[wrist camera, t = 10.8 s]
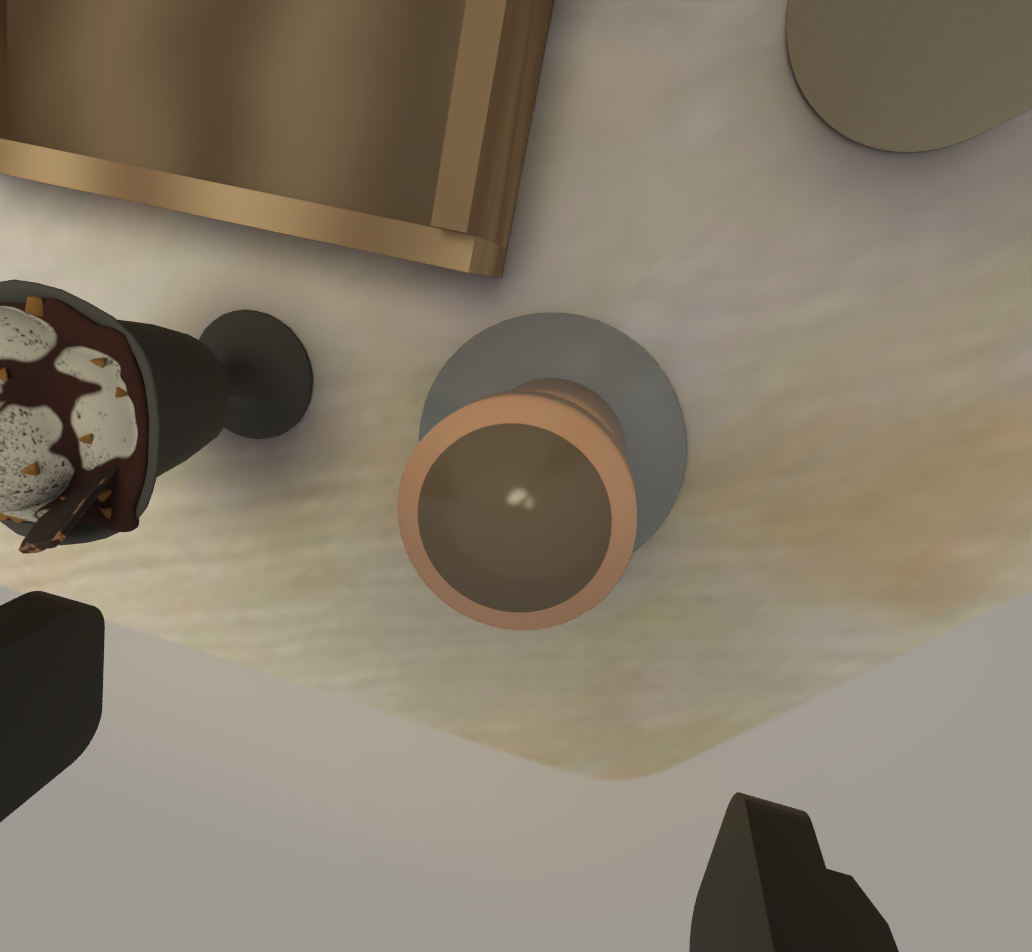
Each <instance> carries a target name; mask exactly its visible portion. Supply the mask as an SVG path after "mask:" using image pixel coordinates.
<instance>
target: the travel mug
mask: <svg viewBox="0 0 1032 952" xmlns="http://www.w3.org/2000/svg"><path fill="white" fill-rule="evenodd" d="M786 33H787V45H788V51H789V57H790V61H791V65H792V68H793V72H794V74H795V77H796V79H797V82H798V84H799V86H800V88H801V90H802V92H803V94H804V96H805V97H806V99H807V100H808V102H809V103H810V105H811V106H812V107H813V109H814V110H815V111H816V112H817V113H818V115H819V116H820V117H821V118H822V119H823V120H824V121H826V122H827V123H828V124H829V125H830V126H831V127H833V128H834V129H835V130H837V131H838V132H839V133H841V134H843V135H844V136H846V137H848V138H850V139H852V140H854V141H856V142H858V143H860V144H863V145H866V146H869V147H872V148H877V149H881V150H886V151H895V152H920V151H929V150H934V149H939V148H944V147H947V146H951V145H954V144H957V143H960V142H962V141H965V140H968V139H970V138H972V137H974V136H976V135H978V134H980V133H982V132H985V131H987V130H989V129H991V128H993V127H995V126H997V125H999V124H1001V123H1003V122H1005V121H1007V120H1010V119H1012V118H1014V117H1016V116H1018V115H1020V114H1022V113H1024V112H1026V111H1028V110H1030V109H1032V0H788V7H787V19H786Z"/></svg>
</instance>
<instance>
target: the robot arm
mask: <svg viewBox="0 0 1032 952" xmlns="http://www.w3.org/2000/svg"><path fill="white" fill-rule="evenodd" d="M104 629H105V625H104V618H103V615H102V613H101V611H100V610H99V609H98V608H96V607H95V606H92V605H88V604H85V603H81V602H78V601H74V600H71V599H67V598H64V597H60V596H57V595H53V594H50V593H46V592H42V591H33V592H29V593H26V594H24V595H21V596H19V597H18V598H15V599H13V600H11V601H9V602H7V603H5V604H3V605H1V606H0V822H1V821H2V820H4V819H5V818H6V817H7V816H9V814H11V813H12V812H13V811H14V810H16V809H17V808H18V807H19V806H21V805H22V804H23V803H24V802H26V801H27V800H28V799H29V798H30V797H32V796H33V795H34V794H35V793H36V792H38V791H39V790H40V789H41V788H43V787H44V786H45V785H46V784H48V783H49V782H50V781H51V780H52V779H54V778H55V777H56V776H57V775H58V774H60V773H61V772H62V771H63V770H64V769H66V768H67V767H68V766H69V765H71V764H72V763H73V762H74V761H75V760H76V759H77V758H78V757H79V756H80V755H81V754H82V753H83V751H84V750H85V749H86V748H87V746H88V745H89V743H90V741H91V740H92V738H93V736H94V734H95V732H96V730H97V728H98V725H99V721H100V718H101V714H102V697H103V664H104V663H103V662H104ZM690 952H899V951H898V949H897V946H896V943H895V941H894V938H893V936H892V933H891V931H890V928H889V925H888V923H887V922H886V921H885V919H884V918H883V917H882V915H881V914H880V913H879V912H878V910H877V909H876V908H875V906H874V905H873V904H872V902H871V901H870V900H869V898H868V897H867V896H866V894H865V893H864V892H863V891H862V889H861V888H860V887H859V885H858V884H857V882H856V881H855V880H854V878H853V877H852V876H850V875H846V874H843V873H839V872H836V871H832V870H829V869H826V866H825V863H824V860H823V857H822V854H821V850H820V847H819V844H818V841H817V838H816V834H815V831H814V828H813V825H812V822H811V819H810V817H809V816H808V814H807V813H806V812H805V811H802V810H798V809H795V808H792V807H788V806H784V805H781V804H778V803H774V802H771V801H767V800H764V799H760V798H756V797H753V796H750V795H746V794H743V793H739V792H738V793H736V794H735V795H734V796H733V797H732V799H731V801H730V803H729V805H728V808H727V810H726V813H725V816H724V819H723V822H722V825H721V828H720V831H719V834H718V836H717V839H716V842H715V845H714V848H713V851H712V854H711V857H710V859H709V863H708V866H707V868H706V871H705V874H704V877H703V880H702V883H701V886H700V889H699V892H698V895H697V898H696V902H695V906H694V911H693V917H692V924H691V933H690Z"/></svg>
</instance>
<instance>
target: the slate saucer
mask: <svg viewBox="0 0 1032 952" xmlns="http://www.w3.org/2000/svg"><path fill="white" fill-rule="evenodd" d="M544 378H559V379H566V380H570V381H573V382H577V383H579V384H581V385H584V386H586V387H588V388H589V389H591V390H593V391H594V392H596V393H597V394H598V395H599V396H600V397H602V398H603V399H604V400H605V401H606V402H607V404H608V405H609V406H610V407H611V409H612V410H613V411H614V413H615V415H616V416H617V418H618V420H619V422H620V425H621V428H622V430H623V434H624V439H625V448H626V452H625V455H626V457H627V459H628V461H629V464H630V467H631V469H632V472H633V476H634V481H635V485H636V495H637V527H636V537H635V542H634V547H633V551H632V553H633V552H634V551H635V550H637V549H638V548H639V547H640V546H641V545H643V544H644V543H645V542H646V541H647V540H648V539H649V538H650V537H651V536H652V535H653V534H654V533H655V532H656V531H657V529H658V528H659V527H660V525H661V524H662V523H663V521H664V520H665V518H666V517H667V516H668V514H669V512H670V510H671V508H672V506H673V504H674V502H675V500H676V498H677V495H678V493H679V490H680V487H681V484H682V480H683V475H684V471H685V466H686V451H687V445H686V430H685V425H684V421H683V416H682V412H681V409H680V406H679V403H678V400H677V398H676V395H675V392H674V390H673V388H672V386H671V385H670V383H669V381H668V379H667V377H666V375H665V374H664V373H663V371H662V370H661V368H660V367H659V365H658V364H657V363H656V361H655V360H654V359H653V358H652V357H651V356H650V355H649V354H648V353H647V352H646V351H645V350H644V349H643V348H642V347H641V346H640V345H639V344H637V343H636V342H635V341H634V340H632V339H631V338H630V337H628V336H627V335H625V334H624V333H622V332H620V331H619V330H617V329H615V328H614V327H611V326H609V325H607V324H604V323H602V322H600V321H598V320H594V319H591V318H587V317H584V316H580V315H573V314H566V313H540V314H532V315H524V316H520V317H517V318H513V319H509V320H506V321H503V322H501V323H499V324H496V325H494V326H492V327H489V328H488V329H486V330H484V331H483V332H481V333H479V334H478V335H476V336H474V337H473V338H472V339H470V340H469V341H468V342H467V343H465V344H464V345H463V346H462V347H461V348H460V349H459V350H458V351H457V352H456V353H455V354H454V355H453V356H452V357H451V358H450V359H449V360H448V362H447V363H446V364H445V366H444V367H443V368H442V370H441V371H440V372H439V374H438V376H437V378H436V380H435V381H434V383H433V385H432V387H431V389H430V392H429V394H428V397H427V399H426V402H425V405H424V409H423V413H422V418H421V424H420V434H419V443H420V441H421V440H422V439H423V437H424V436H425V435H426V434H427V433H428V432H429V431H430V430H431V429H432V428H433V427H434V426H435V425H437V424H438V423H439V422H441V421H442V420H443V419H445V418H446V417H447V416H449V415H451V414H452V413H454V412H455V411H457V410H459V409H460V408H462V407H464V406H465V405H467V404H469V403H471V402H472V401H474V400H477V399H479V398H482V397H484V396H487V395H491V394H495V393H499V392H504V391H511V390H512V389H514V388H516V387H518V386H519V385H521V384H524V383H527V382H529V381H533V380H537V379H544Z"/></svg>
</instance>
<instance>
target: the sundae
mask: <svg viewBox="0 0 1032 952" xmlns="http://www.w3.org/2000/svg"><path fill="white" fill-rule="evenodd" d="M311 390H312V372H311V368H310V363H309V360H308V357H307V354H306V351H305V349H304V348H303V346H302V344H301V343H300V341H299V340H298V338H297V337H296V336H295V334H294V333H293V332H292V331H291V329H289V328H288V327H287V326H286V325H284V324H283V323H282V322H280V321H279V320H277V319H276V318H274V317H272V316H271V315H269V314H265V313H262V312H258V311H252V310H239V311H233V312H230V313H227V314H224V315H222V316H220V317H219V318H217V319H216V320H215V321H213V322H212V323H211V324H210V325H209V326H208V327H207V328H206V329H205V330H204V332H203V334H202V335H201V337H200V339H199V340H197V339H195V338H193V337H192V336H190V335H188V334H184V333H181V332H177V331H174V330H170V329H167V328H163V327H160V326H156V325H153V324H146V323H138V322H131V321H123V320H117V319H115V318H114V317H113V316H111V315H109V314H107V313H106V312H104V311H102V310H100V309H99V308H97V307H95V306H94V305H92V304H90V303H88V302H86V301H84V300H82V299H80V298H78V297H76V296H74V295H72V294H70V293H68V292H66V291H64V290H61V289H57V288H54V287H50V286H46V285H43V284H39V283H34V282H27V281H20V280H9V281H3V282H0V522H2V523H3V524H4V525H6V526H7V527H8V528H10V529H11V530H13V531H14V532H15V533H17V534H19V535H22V536H25V539H24V540H23V541H22V543H21V546H20V548H19V551H20V552H22V553H38V552H41V551H43V550H45V549H47V548H54V547H56V546H58V545H69V544H79V543H87V542H91V541H96V540H101V539H105V538H107V537H110V536H112V535H114V534H116V533H118V532H129V531H132V530H134V529H136V528H137V527H138V525H139V517H140V516H141V515H142V513H143V512H144V511H145V509H146V508H147V507H148V504H149V501H150V498H151V495H152V492H153V489H154V485H155V481H156V477H158V476H160V475H161V474H163V473H165V472H167V471H168V470H170V469H172V468H174V467H175V466H177V465H179V464H181V463H182V462H184V461H186V460H187V459H188V458H190V457H191V456H192V455H194V454H195V453H196V452H198V451H199V450H200V449H202V448H203V447H204V446H206V445H207V444H208V443H209V442H211V441H212V440H213V439H215V438H216V437H217V436H218V435H219V433H220V432H221V431H222V429H223V427H225V428H227V429H228V430H230V431H232V432H233V433H235V434H238V435H241V436H244V437H249V438H255V439H263V438H270V437H274V436H278V435H281V434H283V433H284V432H286V431H287V430H289V429H290V428H292V427H293V426H294V425H295V424H296V423H297V422H298V421H299V420H300V418H301V417H302V415H303V414H304V412H305V410H306V408H307V406H308V404H309V402H310V396H311Z"/></svg>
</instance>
